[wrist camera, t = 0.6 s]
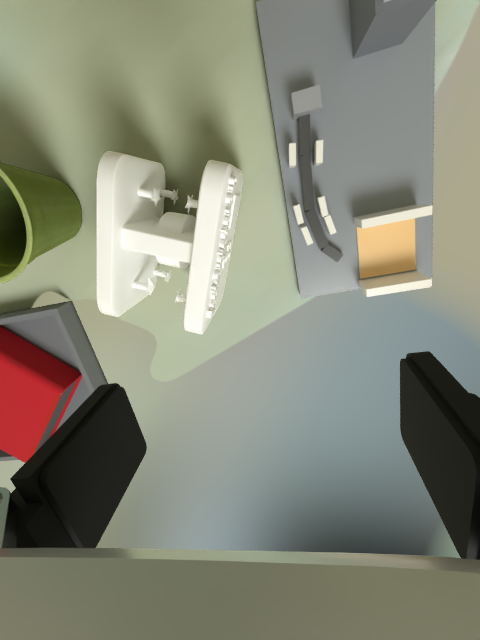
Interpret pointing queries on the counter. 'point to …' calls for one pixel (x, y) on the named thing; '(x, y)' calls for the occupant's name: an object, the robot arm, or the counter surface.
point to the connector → (383, 23)
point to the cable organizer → (163, 235)
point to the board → (352, 148)
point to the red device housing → (31, 395)
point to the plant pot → (33, 217)
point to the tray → (58, 347)
